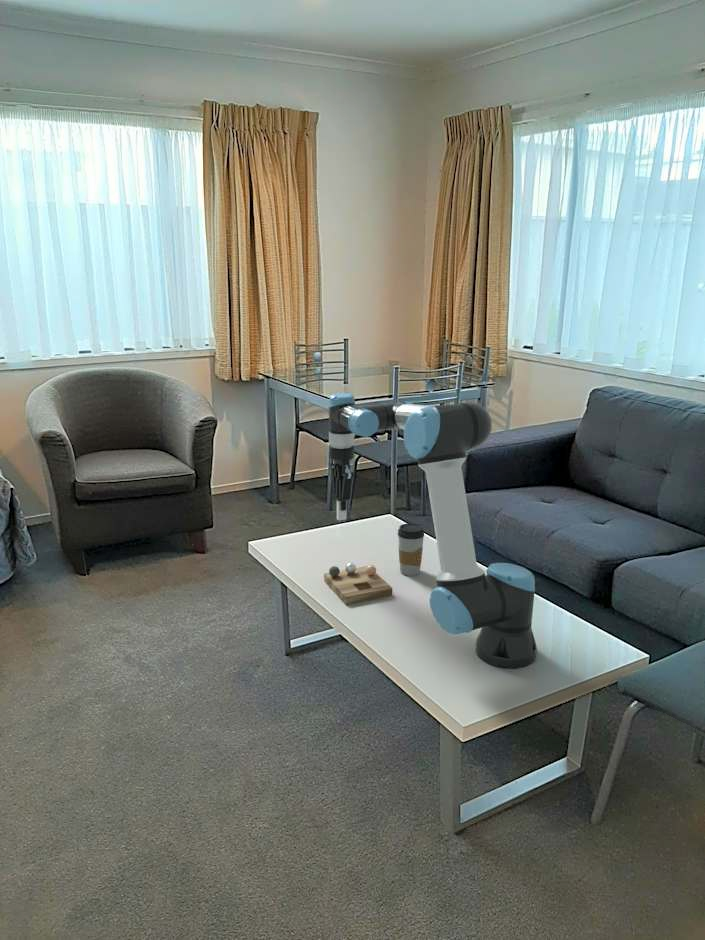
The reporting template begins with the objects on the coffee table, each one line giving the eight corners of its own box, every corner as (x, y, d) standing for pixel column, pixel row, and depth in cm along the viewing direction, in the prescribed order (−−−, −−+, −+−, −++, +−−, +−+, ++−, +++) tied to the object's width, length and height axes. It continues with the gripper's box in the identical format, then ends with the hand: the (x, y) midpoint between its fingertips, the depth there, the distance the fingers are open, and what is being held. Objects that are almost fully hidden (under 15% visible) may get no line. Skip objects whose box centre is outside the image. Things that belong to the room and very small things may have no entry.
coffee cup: (413, 579, 230) (415, 534, 226) (391, 572, 235) (392, 528, 231) (428, 570, 237) (429, 526, 232) (406, 564, 242) (407, 520, 237)
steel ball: (357, 574, 228) (357, 564, 227) (347, 576, 226) (347, 566, 225) (353, 570, 231) (353, 560, 230) (343, 572, 229) (343, 562, 228)
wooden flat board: (392, 595, 220) (392, 587, 219) (345, 604, 214) (345, 596, 213) (368, 573, 235) (368, 565, 234) (324, 581, 229) (324, 573, 228)
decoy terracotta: (377, 576, 227) (378, 566, 226) (368, 578, 226) (368, 568, 225) (373, 572, 230) (373, 562, 229) (364, 574, 228) (364, 564, 227)
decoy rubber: (341, 577, 226) (341, 567, 225) (331, 579, 225) (331, 569, 224) (337, 573, 229) (337, 563, 228) (327, 575, 227) (327, 565, 226)
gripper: (361, 449, 219) (361, 524, 226) (345, 439, 231) (344, 510, 238) (338, 452, 216) (338, 527, 223) (322, 441, 228) (322, 513, 235)
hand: (341, 519), depth 230 cm, fingers closed
